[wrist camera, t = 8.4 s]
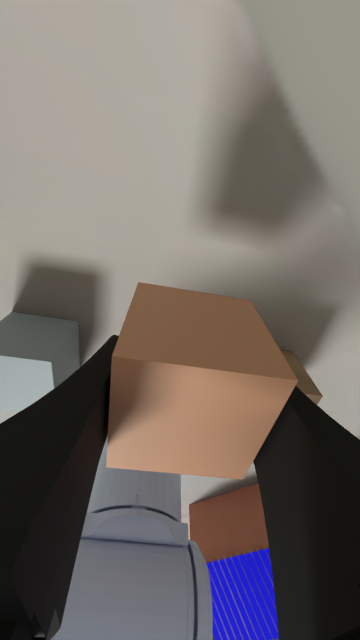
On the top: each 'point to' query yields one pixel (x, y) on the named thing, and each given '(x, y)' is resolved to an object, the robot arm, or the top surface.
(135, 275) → the top surface
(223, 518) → the house
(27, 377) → the slate block
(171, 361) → the terracotta block
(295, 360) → the walnut block
